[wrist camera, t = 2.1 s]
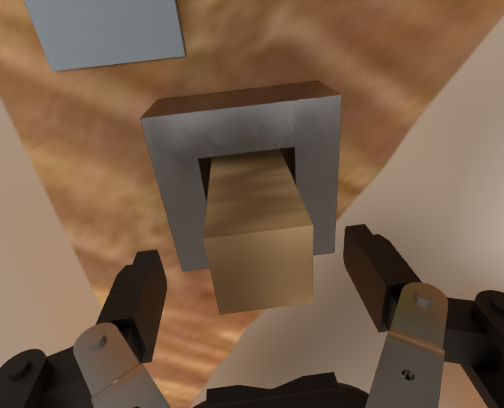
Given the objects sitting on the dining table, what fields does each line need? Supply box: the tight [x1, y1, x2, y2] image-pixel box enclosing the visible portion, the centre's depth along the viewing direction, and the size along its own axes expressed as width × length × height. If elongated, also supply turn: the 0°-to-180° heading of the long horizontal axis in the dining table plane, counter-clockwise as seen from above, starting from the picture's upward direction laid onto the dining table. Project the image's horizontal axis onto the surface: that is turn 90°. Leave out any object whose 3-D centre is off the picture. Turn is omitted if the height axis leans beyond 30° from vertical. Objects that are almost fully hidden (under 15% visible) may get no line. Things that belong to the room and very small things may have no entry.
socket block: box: [140, 81, 342, 272], centre depth 20 cm, size 10×10×4 cm
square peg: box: [203, 149, 313, 314], centre depth 17 cm, size 4×4×11 cm
